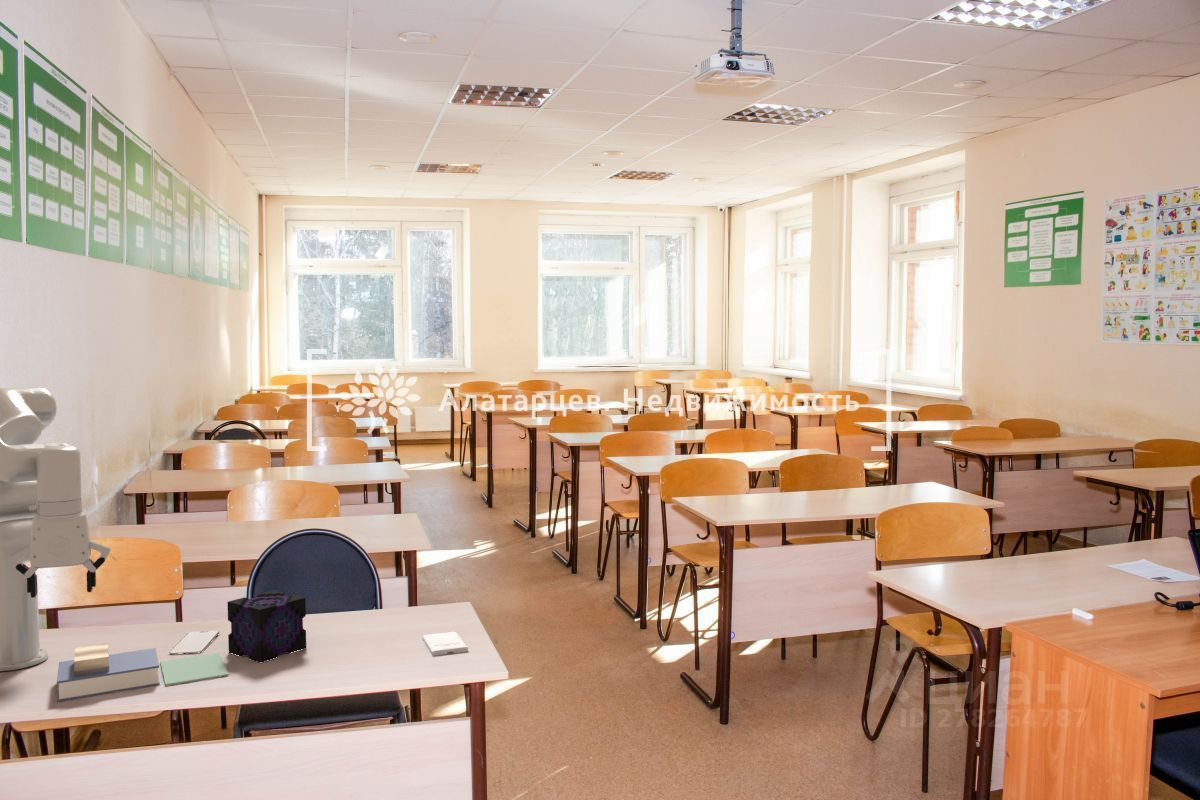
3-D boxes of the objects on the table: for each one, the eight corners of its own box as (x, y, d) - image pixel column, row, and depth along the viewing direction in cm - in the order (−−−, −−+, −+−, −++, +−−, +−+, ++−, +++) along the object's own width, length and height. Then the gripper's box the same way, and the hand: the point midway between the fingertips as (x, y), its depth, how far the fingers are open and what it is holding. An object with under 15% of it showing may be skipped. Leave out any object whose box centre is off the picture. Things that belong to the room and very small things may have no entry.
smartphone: (167, 653, 203) (189, 631, 218) (167, 658, 203) (189, 636, 218) (201, 651, 204) (220, 630, 219) (201, 656, 204) (220, 634, 219)
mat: (160, 663, 197) (160, 661, 197) (219, 654, 203) (219, 652, 203) (165, 686, 183) (165, 684, 183) (228, 675, 189) (228, 673, 189)
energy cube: (274, 639, 214) (273, 590, 213) (306, 648, 207) (305, 597, 207) (228, 653, 204) (227, 601, 203) (260, 663, 197) (259, 609, 197)
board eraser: (75, 661, 187) (75, 647, 186) (108, 656, 190) (107, 642, 189) (74, 676, 178) (74, 661, 178) (109, 671, 181) (108, 656, 181)
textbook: (59, 681, 187) (58, 662, 186) (155, 666, 195) (155, 648, 195) (57, 701, 175) (56, 681, 175) (159, 684, 184) (159, 665, 184)
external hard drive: (456, 637, 216) (468, 653, 205) (422, 641, 213) (432, 657, 202) (456, 631, 216) (468, 646, 204) (422, 635, 213) (432, 650, 201)
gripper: (4, 514, 171) (7, 602, 172) (107, 508, 178) (109, 593, 179) (12, 508, 178) (14, 593, 179) (110, 502, 185) (112, 584, 186)
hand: (62, 593), depth 179 cm, fingers open, 9 cm apart
